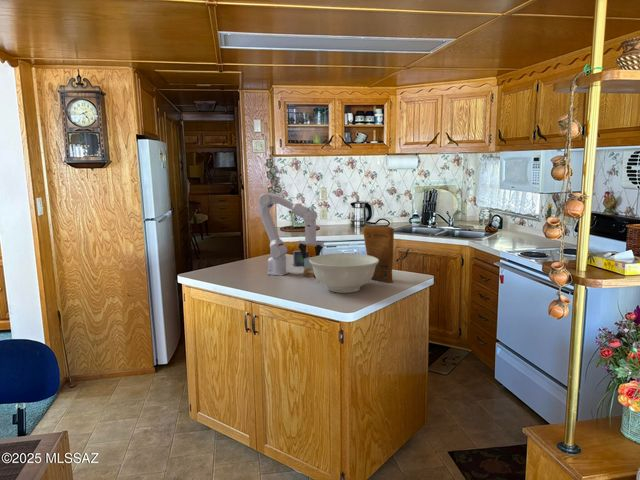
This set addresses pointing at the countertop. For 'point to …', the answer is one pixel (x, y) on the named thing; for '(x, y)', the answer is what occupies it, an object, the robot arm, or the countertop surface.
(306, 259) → the slate block
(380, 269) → the pancake mix bag
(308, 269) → the oak slab
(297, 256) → the flask
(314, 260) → the bowl
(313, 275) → the walnut slab
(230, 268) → the countertop surface
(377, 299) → the countertop surface
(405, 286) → the countertop surface
